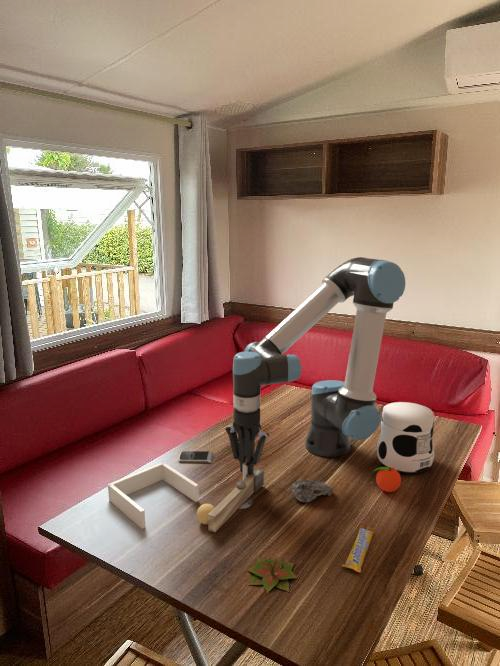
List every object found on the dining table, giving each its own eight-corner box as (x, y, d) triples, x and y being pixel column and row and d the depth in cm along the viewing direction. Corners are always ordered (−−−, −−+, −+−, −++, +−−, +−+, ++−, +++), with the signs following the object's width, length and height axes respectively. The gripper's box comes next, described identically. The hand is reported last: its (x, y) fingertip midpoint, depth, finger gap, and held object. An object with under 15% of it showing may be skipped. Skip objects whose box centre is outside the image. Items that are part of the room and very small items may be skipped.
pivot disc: (254, 498, 137) (254, 497, 137) (248, 510, 132) (248, 509, 132) (234, 495, 139) (234, 494, 139) (227, 507, 133) (227, 506, 133)
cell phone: (180, 454, 163) (180, 450, 163) (213, 455, 163) (213, 451, 163) (177, 464, 157) (177, 460, 157) (212, 464, 157) (211, 460, 157)
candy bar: (359, 529, 125) (359, 522, 124) (375, 533, 123) (376, 527, 122) (341, 571, 110) (341, 564, 109) (359, 577, 108) (360, 570, 108)
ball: (221, 517, 128) (216, 499, 127) (214, 527, 123) (209, 509, 123) (203, 518, 130) (199, 500, 129) (196, 528, 125) (191, 510, 124)
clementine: (370, 493, 139) (371, 470, 138) (373, 481, 146) (374, 459, 144) (399, 498, 137) (401, 475, 135) (401, 486, 143) (402, 464, 141)
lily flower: (302, 561, 113) (302, 544, 112) (295, 601, 102) (295, 582, 101) (251, 554, 116) (251, 537, 115) (239, 591, 104) (238, 573, 103)
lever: (263, 484, 143) (263, 468, 142) (217, 533, 122) (216, 514, 120) (254, 481, 145) (253, 465, 144) (206, 529, 123) (205, 511, 122)
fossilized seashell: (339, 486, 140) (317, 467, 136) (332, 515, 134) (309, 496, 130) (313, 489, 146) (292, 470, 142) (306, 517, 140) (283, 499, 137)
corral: (198, 500, 136) (198, 484, 135) (142, 528, 124) (140, 511, 123) (163, 477, 149) (162, 462, 148) (109, 500, 137) (107, 484, 136)
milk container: (382, 447, 167) (385, 397, 162) (435, 457, 159) (440, 406, 155) (370, 470, 152) (373, 416, 147) (429, 483, 144) (434, 427, 140)
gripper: (220, 407, 136) (221, 483, 142) (261, 417, 130) (260, 495, 136) (233, 398, 142) (234, 470, 148) (273, 406, 136) (272, 481, 142)
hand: (246, 482), depth 142 cm, fingers closed
